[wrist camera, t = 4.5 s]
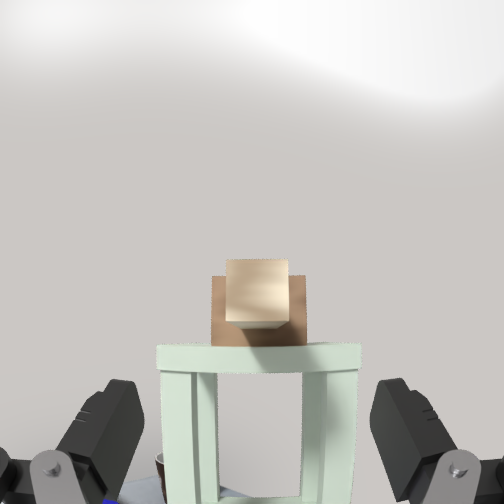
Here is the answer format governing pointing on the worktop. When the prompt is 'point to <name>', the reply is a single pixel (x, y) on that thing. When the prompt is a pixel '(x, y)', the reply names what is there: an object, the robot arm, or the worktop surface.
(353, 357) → the tall stand
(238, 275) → the cube on tan board
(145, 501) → the worktop surface
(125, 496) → the worktop surface
